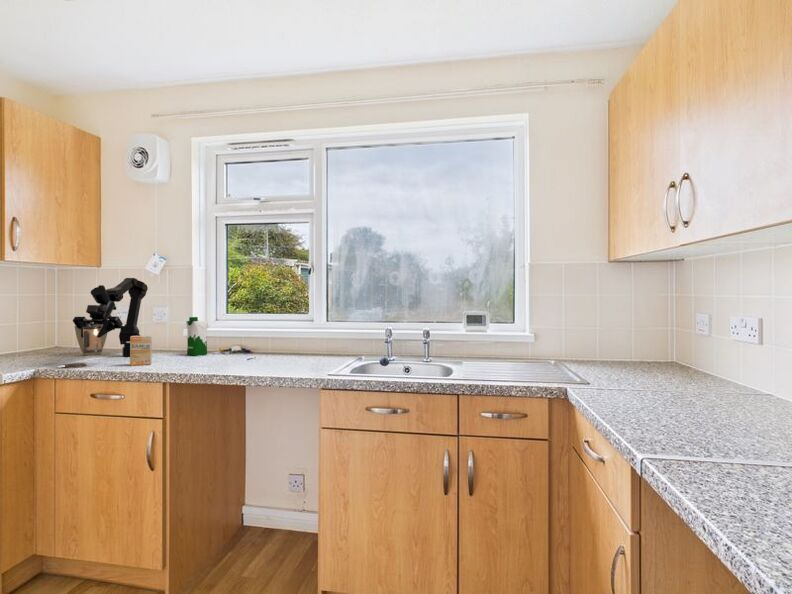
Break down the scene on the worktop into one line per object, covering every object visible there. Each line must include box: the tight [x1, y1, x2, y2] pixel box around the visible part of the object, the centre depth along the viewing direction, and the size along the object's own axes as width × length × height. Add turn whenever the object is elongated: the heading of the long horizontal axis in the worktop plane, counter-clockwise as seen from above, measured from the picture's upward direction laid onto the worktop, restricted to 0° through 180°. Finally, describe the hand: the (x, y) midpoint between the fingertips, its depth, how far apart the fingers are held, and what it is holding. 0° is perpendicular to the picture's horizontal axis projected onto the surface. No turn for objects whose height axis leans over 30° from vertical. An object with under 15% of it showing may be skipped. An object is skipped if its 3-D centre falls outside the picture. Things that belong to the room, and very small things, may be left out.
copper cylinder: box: [82, 322, 103, 354], centre depth 191 cm, size 8×7×13 cm
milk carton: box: [185, 316, 209, 357], centre depth 228 cm, size 9×9×20 cm
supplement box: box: [129, 335, 153, 367], centre depth 196 cm, size 8×5×13 cm, turn 115°
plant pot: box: [74, 324, 108, 356], centre depth 230 cm, size 15×15×16 cm
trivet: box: [62, 362, 87, 368], centre depth 192 cm, size 10×10×1 cm
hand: (90, 337), depth 190 cm, fingers closed on copper cylinder, 7 cm apart
